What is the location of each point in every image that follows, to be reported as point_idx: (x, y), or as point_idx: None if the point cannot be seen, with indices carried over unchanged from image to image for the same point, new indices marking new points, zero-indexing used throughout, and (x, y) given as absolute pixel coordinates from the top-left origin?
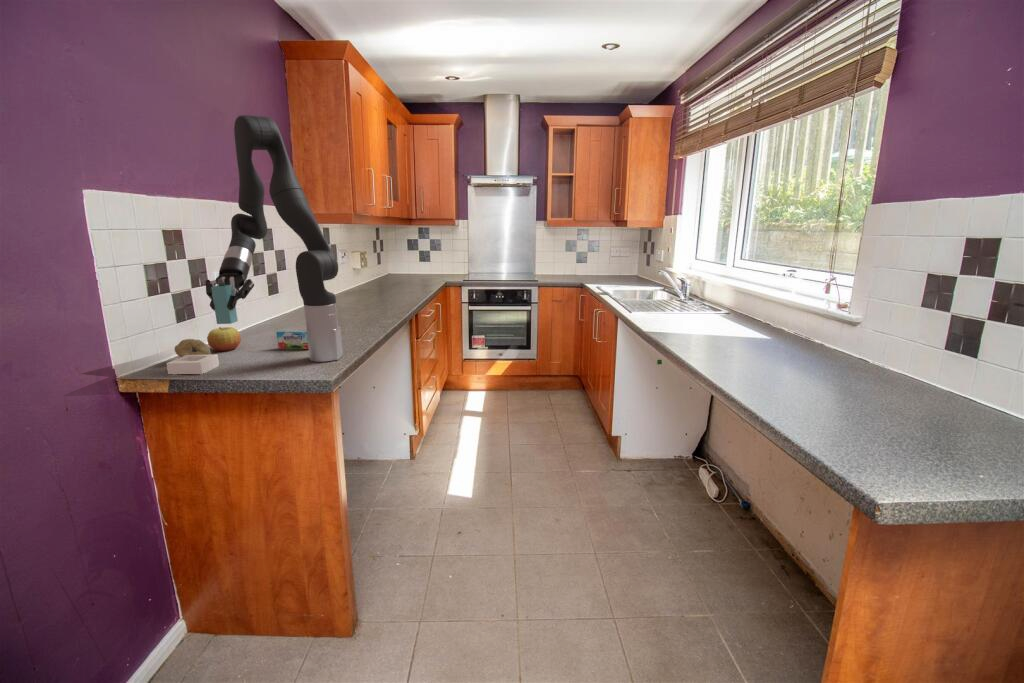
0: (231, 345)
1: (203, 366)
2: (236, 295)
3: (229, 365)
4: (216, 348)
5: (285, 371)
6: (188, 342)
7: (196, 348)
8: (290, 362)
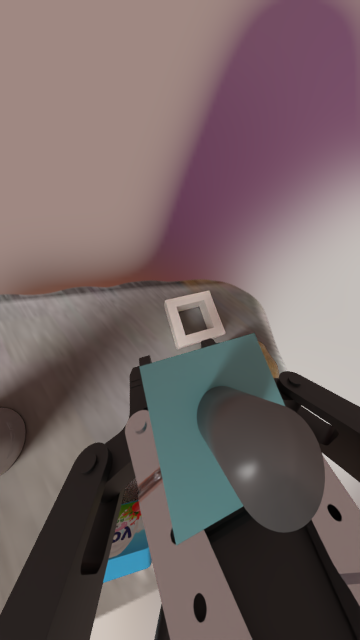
0: None
1: (166, 308)
2: (125, 435)
3: (162, 353)
4: None
5: (40, 339)
6: None
7: None
8: (61, 394)
